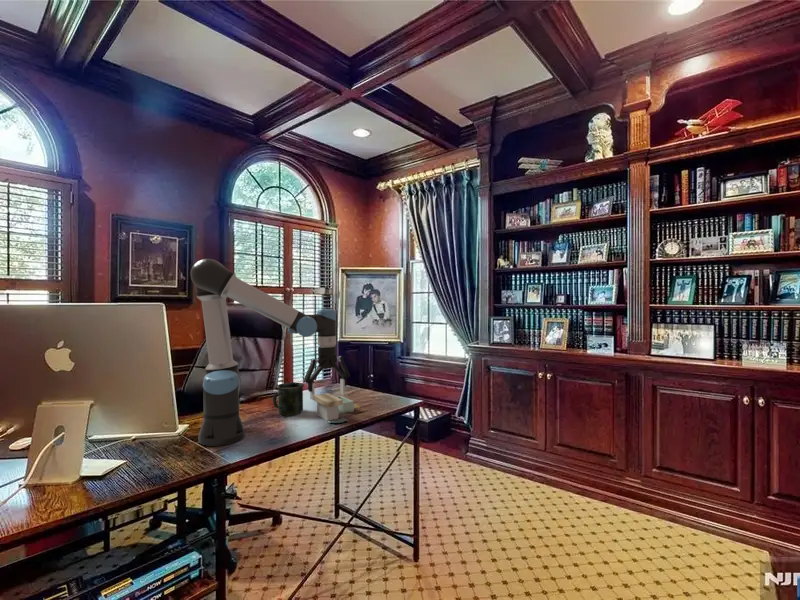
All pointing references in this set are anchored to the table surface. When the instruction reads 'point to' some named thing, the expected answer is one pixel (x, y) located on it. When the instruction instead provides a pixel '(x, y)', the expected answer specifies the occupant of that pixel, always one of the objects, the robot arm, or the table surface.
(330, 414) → the light grey rectangular block
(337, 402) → the lid
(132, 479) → the table surface
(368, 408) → the table surface
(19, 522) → the table surface
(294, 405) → the mug
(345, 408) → the dish
